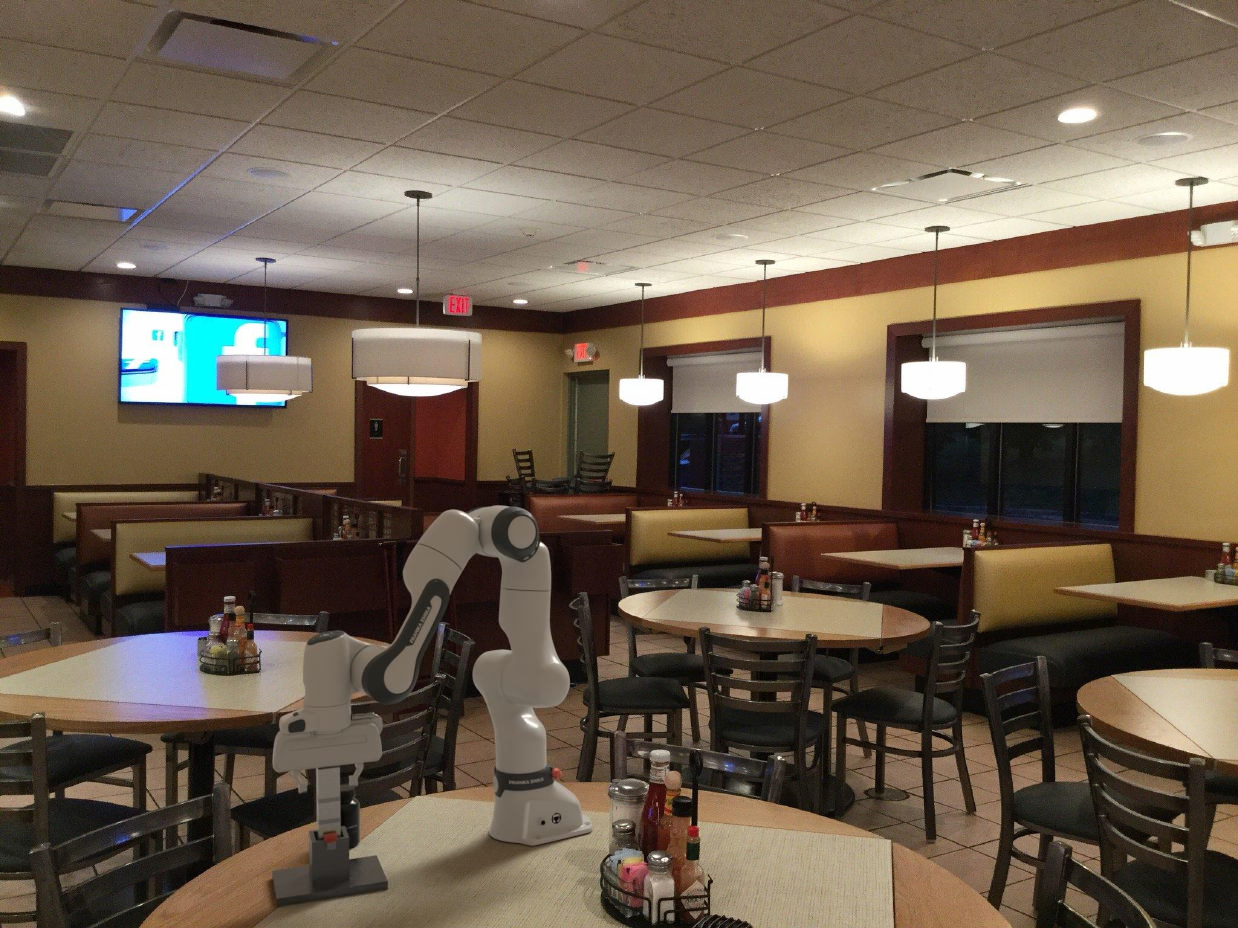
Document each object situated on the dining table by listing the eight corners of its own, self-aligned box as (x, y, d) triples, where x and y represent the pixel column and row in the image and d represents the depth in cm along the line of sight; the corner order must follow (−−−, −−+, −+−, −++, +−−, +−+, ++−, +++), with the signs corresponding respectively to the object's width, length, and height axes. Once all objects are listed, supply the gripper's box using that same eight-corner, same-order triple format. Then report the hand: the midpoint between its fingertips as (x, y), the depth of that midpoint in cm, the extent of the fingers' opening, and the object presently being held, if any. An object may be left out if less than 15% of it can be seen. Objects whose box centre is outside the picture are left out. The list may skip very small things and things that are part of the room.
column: (338, 843, 199) (337, 761, 199) (341, 850, 195) (340, 767, 195) (316, 846, 197) (315, 764, 197) (318, 854, 193) (317, 769, 193)
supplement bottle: (351, 851, 212) (350, 793, 212) (320, 849, 214) (320, 792, 214) (365, 839, 219) (365, 783, 219) (336, 837, 221) (335, 781, 221)
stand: (376, 862, 206) (376, 810, 206) (387, 888, 193) (387, 833, 193) (272, 878, 199) (271, 824, 199) (276, 906, 186) (276, 849, 186)
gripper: (379, 707, 203) (380, 777, 203) (271, 718, 195) (272, 790, 195) (384, 714, 197) (385, 786, 197) (273, 726, 189) (274, 800, 189)
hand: (328, 788), depth 196 cm, fingers open, 8 cm apart
